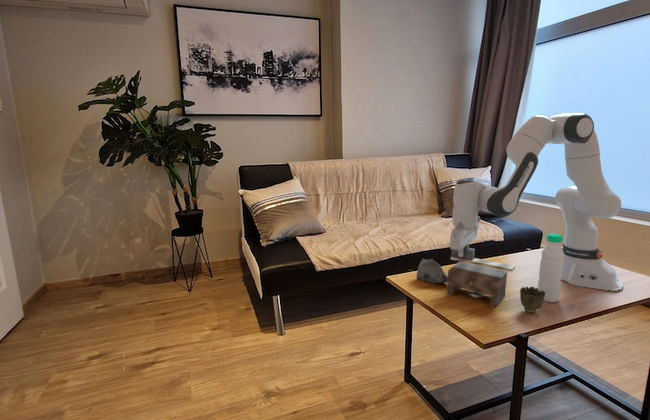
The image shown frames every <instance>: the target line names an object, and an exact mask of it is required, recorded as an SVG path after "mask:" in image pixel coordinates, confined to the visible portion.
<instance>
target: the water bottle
mask: <svg viewBox="0 0 650 420" xmlns="http://www.w3.org/2000/svg"><path fill="white" fill-rule="evenodd" d="M546 236H547V237H546V242H547V244H546V245H545V247H544V248H543V250H542V251H541V259H540V264H539V271H538V273H539V276H538V278H539V279H538V283H537V288H538V291H540V292H541V291H542V290H543V292H545V296H544V300H543V302H545V303H546V302H547V303H556V302H557V303H558V301H559V300H560V291H561V282H562V279H561V277H562V271H563V259H564V252H563V251H562V246H561V244H563V243H562V242H563V239H564V238H563V236H562V235H561V234H557V233H549V234H547V235H546Z"/></svg>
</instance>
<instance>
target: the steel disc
mask: <svg viewBox="0 0 650 420" xmlns="http://www.w3.org/2000/svg"><path fill="white" fill-rule="evenodd" d="M468 295H469V296H470V297H472V298H474V299H475V298H476V299H481V298H483V295H484V294H482V293H478V292H474V291H470V290H468Z"/></svg>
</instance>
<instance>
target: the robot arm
mask: <svg viewBox="0 0 650 420" xmlns="http://www.w3.org/2000/svg"><path fill="white" fill-rule="evenodd" d="M546 144H551V145H561V144H563V145H564V158H565V159H564V160H565V170H566V176H567V178H568V179H569V180H570V181H572V182H573V184H574V185H570V186H569V185H567V186H563V187H561V188H560V189H558V191H557V192H556V194H555V196H554V198H555V199H554V201H555V203H556V205H558V207H559V209H560V210H561V213H562V217H563V219H564V225H565V227H564V228H565V229H564V230H565V232H564V238H563V239H564V241H563V243H562V246H561V247H562V251H563V252H564V259H563V271H562V277H561V281H565V282H566V283H568V284H569V285H571V286H575V287H583V288H587V289H589V288H590V289H596V290H601V289H602V290H603V291H608V290H611V291H610V292H615V291H617V292H619V291H618V290H620V291H622V290H623V288H622V287H624V286H623V285H624V284H623V282H622V281H621V280H620V279H619V278H617V276H618V275H617V272H616V270H615V268H614V267H613V266H612V265H611V264H609V263H608V262H606V261H605V260H604V259H603V257H604V253H603V251H602V249H599V248H598V246H597V245H598V239H599V232H600V231H599V229H598V227H597V226H596V224H594V222H593V220H592V218H596V219H610V218H613V217H615V216H616V215H617V214H618V213H619V212H620V210H621V207H622V200H621V198H620V196H619V195H617V194H616V193H615V192H614V191H613V190H612V189H611V188H610V187H609V185H608V182H607V181H606V179H605V176H604V174H603V171H602V163H601V153H600V152H601V151H600V144H599V139H598V136H597V133H596V130H595V123H594V120H593V118H592V117H591V116H590V115H589V114H586V113H580V112H576V113H561V114H557V115H556V114H555V115H552V116H544V115H540V114H539V115H533V116H531V117H530V118H529V119H528V120H527V121H526V122H525V123H523V125H522V126H521V127H520V128H519V129H518V130H516V132H515V134H514V135H513V136H512V138H511V139H510V141H509V142H508V143H507V146H506V149H505V150H506V155H507V158H508V159H509V160H510V161H511V162H512V163H513V164H514V165H515V167H514V171H513V172H512V174H511V176H510V177H509V179H508V181H507V182H506V184H505V185H504V186H502V187H500V188H499V187H496V186H492V185H488V184H485V183H483V182H481V181H479V180H478V179H477V178H476V177H464V178H460V179H458V180H457V181H456V183H455V184H454V190H453V196H452V197H453V199H452V200H453V211H452V219H451V220H452V223H451V224H452V226H453V227H454V228H452V230H451V232H450V238H449V248H450V250H452V249H453V250H458V256H459V257H463V256H464V250H463V249H464V247H467V248H470V243H471V242H472V241H474V240H475V239H476V238H477V236H478V229H479V223H480V222H481V217H480V216H479V215H478V214H479V213H478V212H479V211H483V212H487V213H489V214H492V215H494V216H495V217H499V218H506V217H508V216H510V215H512V214H513V213H514V212H515V211H516V210H517V207H518V205H519V203H520V199H521V197H522V195H523V193H524V191H525V189H526V187H527V186H528V185H529V183H530V181H531V179H532V177H533V176H534V173H535V171H536V169H537V167H538V164H539V158H538V157H539V155H540V154H541V151H543V149H544V148H545V146H546ZM621 289H622V290H621Z"/></svg>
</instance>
